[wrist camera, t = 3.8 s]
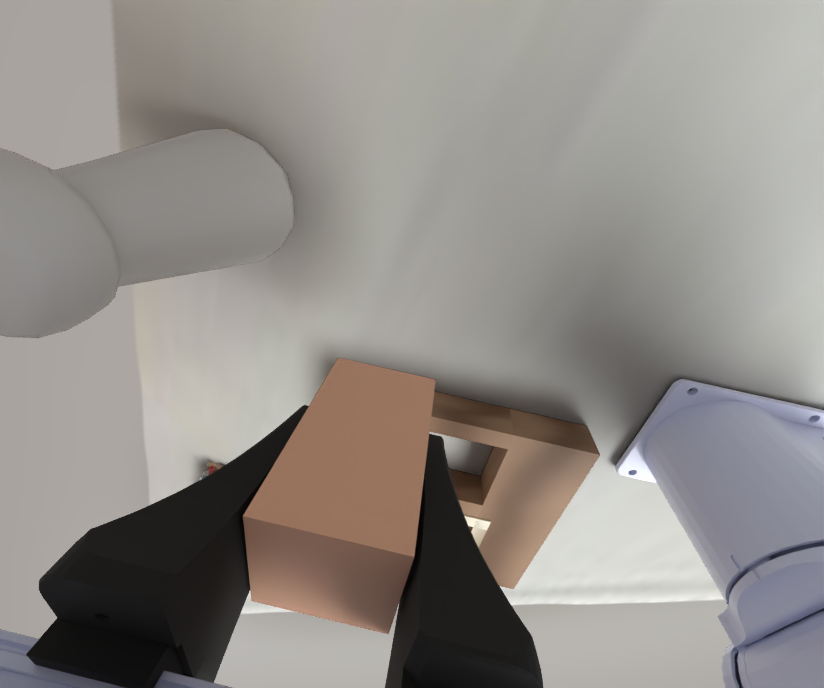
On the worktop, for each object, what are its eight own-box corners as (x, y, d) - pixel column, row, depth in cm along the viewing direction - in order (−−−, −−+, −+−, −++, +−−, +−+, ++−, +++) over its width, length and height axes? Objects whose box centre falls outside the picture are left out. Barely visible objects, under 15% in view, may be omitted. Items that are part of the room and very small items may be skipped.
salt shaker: (333, 202, 18) (121, 289, 7) (268, 270, 21) (31, 416, 9) (244, 101, 16) (-228, -2, 5) (185, 187, 19) (-231, 243, 8)
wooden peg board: (587, 426, 23) (600, 456, 21) (509, 558, 31) (513, 590, 29) (350, 372, 23) (338, 396, 21) (334, 516, 31) (324, 545, 29)
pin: (435, 379, 14) (414, 557, 8) (417, 449, 16) (388, 633, 10) (338, 357, 14) (242, 516, 8) (331, 430, 16) (251, 601, 10)
